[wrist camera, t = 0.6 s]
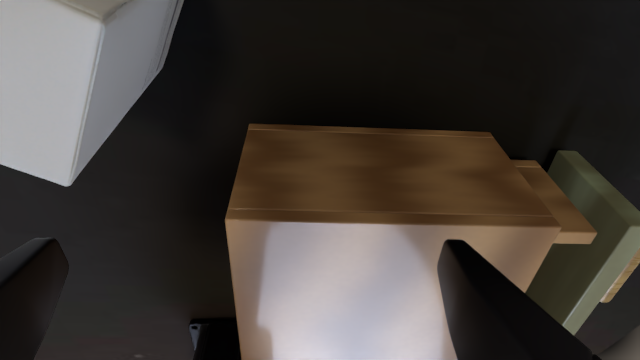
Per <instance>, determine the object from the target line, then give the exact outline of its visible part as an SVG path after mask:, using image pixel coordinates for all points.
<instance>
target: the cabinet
mask: <svg viewBox="0 0 640 360" xmlns="http://www.w3.org/2000/svg"><path fill="white" fill-rule="evenodd" d="M225 225H226V233H227V242H228V250H229V259H230V267H231V276H232V284H233V293H234V301H235V310H236V318H237V327H238V335H239V344H240V352H241V360H457V356H456V353H455V350H454V347H453V344H452V340H451V337H450V333H449V329H448V325H447V320H446V315H445V309H444V304H443V299H442V294H441V289H440V283H439V278H438V273H437V263H438V260H439V256H440V253H441V250H442V246H443V243H444V241H445V240H447V239H461V240H464V241H465V242H467V243H468V244H469V245H470V246H471V247H472V248H473V249H475V250H476V251H477V252H478V253H479V254H480V255H481V256H483V257H484V258H485V259H486V260H487V261H488V262H490V263H491V264H492V265H493V266H494V267H495V268H496V269H498V270H499V271H500V272H501V273H502V274H503V275H505V276H506V277H507V278H508V279H509V280H510V281H511V282H513V283H514V284H515V285H516V286H517V287H518V288H520V289H521V290H522V291H523V292H524V293H525V292H526V290H527V289H528V287H529V285H530V283H531V282H532V280H533V278H534V276H535V274H536V273H537V271H538V269H539V267H540V265H541V264H542V262H543V260H544V258H545V257H546V255H547V253H548V251H549V249H550V248H551V246H552V244H553V242H554V240H555V239H556V237H557V235H558V233H559V232H560V230H561V225H560V224H559V223H558V221H557V220H556V219H555V218H554V217H553V215H552V214H551V212H550V211H549V210H548V208H547V207H546V206H545V204H544V203H543V202H542V200H541V199H540V198H539V196H538V195H537V194H536V193H535V191H534V190H533V189H532V187H531V186H530V185H529V183H528V182H527V181H526V179H525V178H524V177H523V175H522V174H521V173H520V172H519V170H518V169H517V168H516V166H515V165H514V164H513V162H512V161H511V160H510V158H509V157H508V156H507V154H506V153H505V152H504V151H503V149H502V148H501V147H500V145H499V144H498V143H497V141H496V140H495V139H494V137H493V136H492V135H491V133H490V132H473V131H445V130H417V129H389V128H361V127H333V126H305V125H277V124H249V126H248V131H247V135H246V139H245V143H244V146H243V150H242V154H241V158H240V162H239V166H238V170H237V174H236V178H235V182H234V186H233V190H232V193H231V197H230V201H229V205H228V210H227V213H226V217H225Z"/></svg>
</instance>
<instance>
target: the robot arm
mask: <svg viewBox="0 0 640 360" xmlns="http://www.w3.org/2000/svg"><path fill="white" fill-rule="evenodd" d="M68 269H69V265H68V261H67V259H66V257H65V255H64V253H63V251H62V249H61V247H60V245H59V243H58V241H57V240H56V239H54V238H34V239H32V240H30V241H28V242H27V243H25V244H23V245H22V246H20V247H18V248H17V249H15V250H13V251H12V252H10V253H8V254H7V255H5V256H3V257H2V258H0V360H33V359H34V357H35V355H36V353H37V351H38V349H39V347H40V345H41V342H42V340H43V338H44V336H45V334H46V331H47V329H48V326H49V324H50V321H51V318H52V315H53V313H54V310H55V307H56V304H57V302H58V299H59V296H60V293H61V290H62V288H63V285H64V282H65V279H66V277H67V274H68ZM437 273H438V278H439V283H440V289H441V294H442V299H443V304H444V309H445V315H446V320H447V325H448V329H449V333H450V337H451V340H452V344H453V347H454V350H455V353H456V356H457V360H601V359H600V358H599V357H598V356H597V355H595V354H593V355H592V351H591V350H590V349H589V348H587V347H586V346H585V345H584V344H583V343H582V342H581V341H579V340H578V339H577V338H576V337H575V336H574V335H572V334H571V333H570V332H569V331H568V330H567V329H566V328H564V327H563V326H562V325H561V324H560V323H559V322H558V321H556V320H555V319H554V318H553V317H552V316H551V315H549V314H548V313H547V312H546V311H545V310H544V309H543V308H541V307H540V306H539V305H538V304H537V303H536V302H534V301H533V300H532V299H531V298H530V297H529V296H528V295H526V294H525V293H524V292H523V291H522V290H521V289H520V288H518V287H517V286H516V285H515V284H514V283H513V282H511V281H510V280H509V279H508V278H507V277H506V276H505V275H503V274H502V273H501V272H500V271H499V270H498V269H496V268H495V267H494V266H493V265H492V264H491V263H490V262H488V261H487V260H486V259H485V258H484V257H483V256H481V255H480V254H479V253H478V252H477V251H476V250H475V249H473V248H472V247H471V246H470V245H469V244H468V243H467V242H465V241H464V240H461V239H447V240H445V241H444V243H443V246H442V250H441V253H440V256H439V260H438V263H437ZM189 331H190V335H191V339H192V343H193V347H194V352H195V354H194V358H193V360H241V352H240V344H239V335H238V327H237V320H192V321H190V324H189Z"/></svg>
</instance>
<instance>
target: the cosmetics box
mask: <svg viewBox="0 0 640 360" xmlns="http://www.w3.org/2000/svg"><path fill="white" fill-rule="evenodd" d="M183 2H184V0H0V164H1V165H4V166H7V167H10V168H13V169H16V170H19V171H22V172H25V173H28V174H31V175H34V176H37V177H40V178H43V179H46V180H49V181H52V182H55V183H57V184H60V185H63V186H70V185H71V184H72V183H73V181H74V180H75V179H76V177H77V176H78V175H79V173H80V172H81V171H82V169H83V168H84V167H85V166H86V164H87V163H88V162H89V160H90V159H91V158H92V157H93V155H94V154H95V153H96V152H97V150H98V149H99V148H100V146H101V145H102V144H103V143H104V141H105V140H106V139H107V138H108V136H109V135H110V134H111V132H112V131H113V130H114V129H115V127H116V126H117V125H118V123H119V122H120V121H121V120H122V118H123V117H124V116H125V115H126V113H127V112H128V111H129V109H130V108H131V107H132V106H133V104H134V103H135V102H136V101H137V99H138V98H139V97H140V96H141V94H142V93H143V92H144V91H145V89H146V88H147V87H148V86H149V84H150V83H151V82H152V80H153V79H154V78H155V77H156V76H157V74H158V73H159V72H160V70H161V69H162V68H163V65H164V62H165V59H166V56H167V53H168V50H169V46H170V43H171V39H172V36H173V32H174V29H175V26H176V23H177V20H178V17H179V14H180V11H181V8H182V5H183Z"/></svg>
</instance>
